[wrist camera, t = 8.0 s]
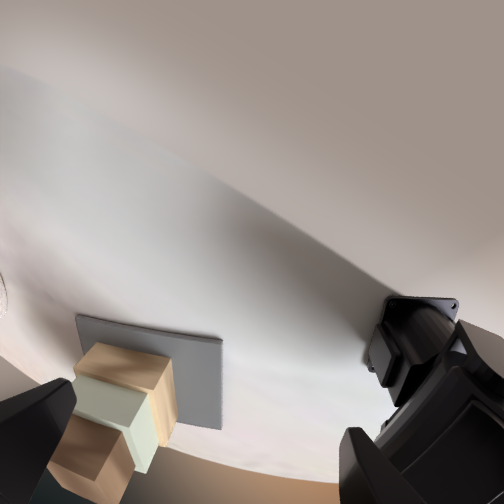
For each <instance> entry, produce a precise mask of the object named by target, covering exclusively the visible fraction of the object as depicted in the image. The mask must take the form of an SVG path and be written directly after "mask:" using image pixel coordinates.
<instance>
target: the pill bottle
mask: <svg viewBox="0 0 504 504" xmlns="http://www.w3.org/2000/svg"><path fill="white" fill-rule="evenodd" d="M6 311H7V295H6V290H5V287H4V284H3V281H2V278H1V276H0V319H1V318H2V317H3V316H4V315H5V313H6Z"/></svg>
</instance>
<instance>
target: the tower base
mask: <svg viewBox="0 0 504 504" xmlns="http://www.w3.org/2000/svg"><path fill="white" fill-rule="evenodd" d="M73 369H74V372H75V375H76V378H77V376H78V375H79V374H80V375H83V376H87V377H90V378H93V379H96V380H99V381H102V382H106V383H109V384H113V385H116V386H120V387H123V388H127V389H131V390H135V391H139V392H143V393H147V394H148V397H149V402H150V406H151V411H152V415H153V420H154V424H155V428H156V432H157V436H158V440H159V444H158V446H162V447H166V446H167V443H168V441H169V438H170V436H171V433H172V431H173V428H174V426H175V423H176V421H177V418H178V410H177V403H176V395H175V387H174V379H173V370H172V361H171V358H168V357H163V356H157V355H152V354H147V353H142V352H138V351H133V350H129V349H124V348H120V347H115V346H111V345H107V344H103V343H99V342H97V343H96V344H95V345H94V346H93V347H92V348H91V349H90V350H89V351H88V352H87V353H86V354H85V355H84V356H83V357H82V359H81V360H80V361H79V362H78V363H77V364H76V365H75V366H74V367H73Z"/></svg>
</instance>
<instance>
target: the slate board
mask: <svg viewBox="0 0 504 504" xmlns="http://www.w3.org/2000/svg"><path fill="white" fill-rule="evenodd" d="M75 320H76V324H77V329H78V333H79V337H80V341H81V345H82V349H83V353H84V355H85V354H86V353H87V352H88V351H89V350H90V349H91V348H92V347H93V346H94V345H95V344H96V343H97V342H99V343H103V344H107V345H111V346H115V347H120V348H124V349H129V350H133V351H138V352H142V353H147V354H152V355H157V356H163V357H168V358H171V361H172V370H173V379H174V387H175V395H176V403H177V410H178V418H177V421H176V422H179V423H183V424H189V425H194V426H199V427H205V428H211V429H218V430H222V426H223V425H222V380H223V340H216V339H209V338H201V337H194V336H187V335H181V334H174V333H168V332H162V331H156V330H150V329H145V328H139V327H134V326H129V325H124V324H119V323H114V322H109V321H104V320H100V319H95V318H91V317H86V316H82V315H78V316H77V317H75Z"/></svg>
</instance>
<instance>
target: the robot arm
mask: <svg viewBox="0 0 504 504" xmlns="http://www.w3.org/2000/svg"><path fill="white" fill-rule="evenodd" d="M392 301H394V303H393V304H392V305H389V304H390V302H392ZM452 304H454V306H453V307H451V306H452ZM458 307H459V302H458V301H457V300H456V299H455V298H435V297H412V296H389V297H387V298H386V300H385V302H384V306H383V311H382V315H381V318H380V322H379V323H378V324H377V325H376V327H375V331H374V334H373V338H372V342H371V345H370V349H369V352H368V354H369V356H370V357H369V361H368V364H367V368H368V370H369V372H372V373H376V374H377V377H378V380H379V382H380V385H381V386H382V387H383V388H388V391H389V393H390V396H391V399H392V401H393V404H394V406H395V407H399V408H398V409H397V410H396V412H395V413H394V414H393V415H392V416H391V417H390V418H389V420H386V421H385V422H384V423H383V424H382V426H381V431H380V434H379V435H378V436H377V437H376V439H375V441H374V442H373V441H372V440H371V439H370V438H369V436H368V435H367V434H366V433H365V432H364V430H363V429H362V428H360V427H348V428H347V429H346V431H345V433H344V436H343V438H342V440H341V443H340V447H339V495H340V504H504V339H503V338H502V337H500V336H498V335H496V334H494V333H491V332H489V331H486V330H484V329H482V328H479V327H477V326H475V325H472V324H470V323H467V322H465V321H463V320H460V319H459V320H458V322H457V323H455V322H454V319H455V316H456V313H457V310H458ZM372 366H374V367H372ZM76 403H77V396H76V394H75V391H74V388H73V386H72V383H71V382H70V381H69V380H67V379H64V378H57V379H55V380H53V381H50V382H48V383H45V384H43V385H41V386H38V387H36V388H33V389H31V390H28V391H26V392H24V393H21V394H18V395H16V396H13V397H11V398H8V399H6V400H3V401H0V504H28V503H29V501H30V499H31V497H32V495H33V493H34V491H35V489H36V487H37V485H38V483H39V480H40V479H41V477H42V475H43V473H44V471H45V469H46V467H47V465H48V463H49V461H50V459H51V457H52V455H53V453H54V451H55V450H56V448H57V446H58V444H59V442H60V440H61V438H62V436H63V434H64V432H65V430H66V427H67V425H68V422H69V420H70V417H71V415H72V413H73V410H74V408H75V406H76Z"/></svg>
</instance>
